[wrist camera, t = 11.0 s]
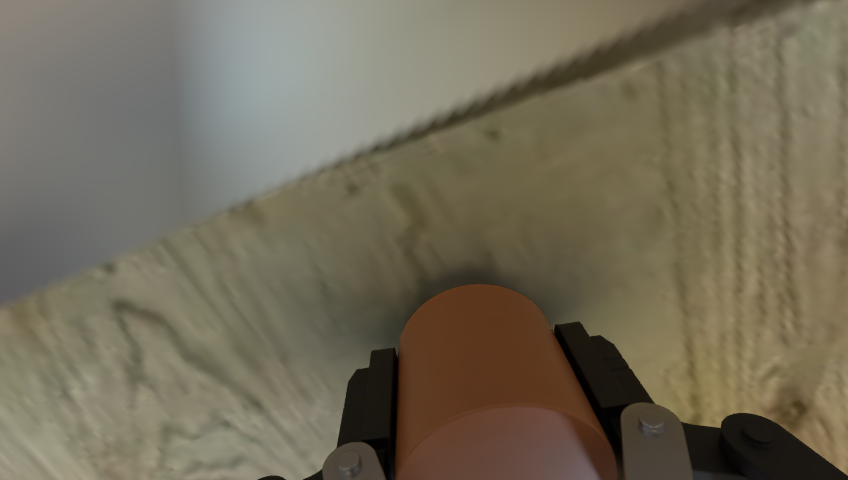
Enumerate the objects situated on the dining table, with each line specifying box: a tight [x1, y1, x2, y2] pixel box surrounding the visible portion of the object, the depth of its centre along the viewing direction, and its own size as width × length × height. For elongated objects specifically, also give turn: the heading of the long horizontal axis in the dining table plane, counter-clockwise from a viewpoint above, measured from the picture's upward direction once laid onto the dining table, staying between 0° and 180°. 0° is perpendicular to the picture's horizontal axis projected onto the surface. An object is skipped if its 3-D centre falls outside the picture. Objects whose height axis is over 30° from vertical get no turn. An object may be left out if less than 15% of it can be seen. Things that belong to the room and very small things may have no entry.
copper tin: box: [394, 284, 618, 480], centre depth 12 cm, size 5×5×5 cm
